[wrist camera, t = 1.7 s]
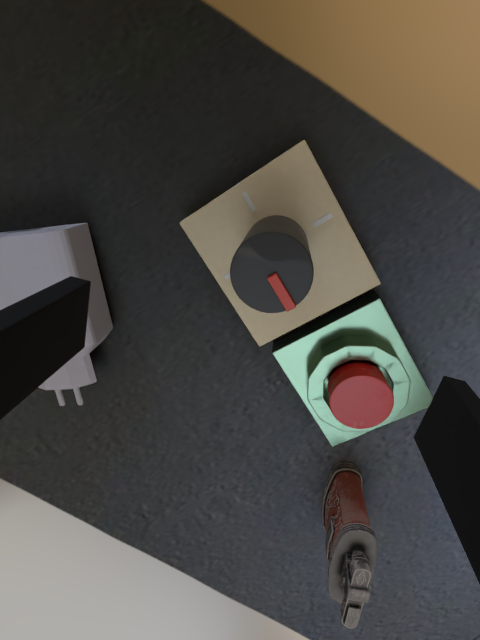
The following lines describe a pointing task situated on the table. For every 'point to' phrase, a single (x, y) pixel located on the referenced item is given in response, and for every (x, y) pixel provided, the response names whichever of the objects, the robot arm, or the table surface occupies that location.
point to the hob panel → (315, 219)
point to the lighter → (348, 541)
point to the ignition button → (359, 395)
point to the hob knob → (273, 265)
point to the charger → (47, 269)
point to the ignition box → (347, 347)
